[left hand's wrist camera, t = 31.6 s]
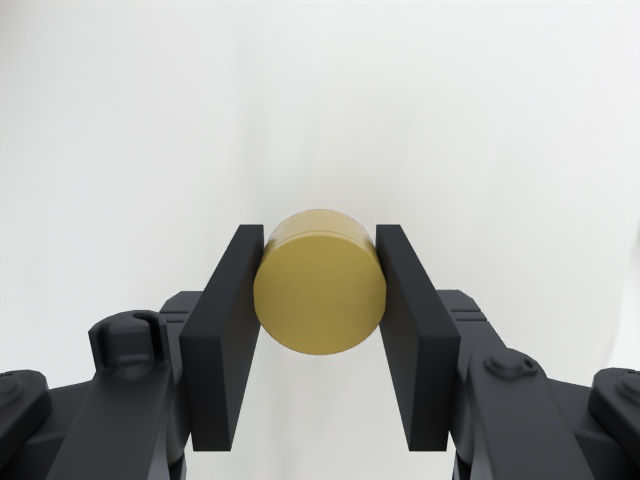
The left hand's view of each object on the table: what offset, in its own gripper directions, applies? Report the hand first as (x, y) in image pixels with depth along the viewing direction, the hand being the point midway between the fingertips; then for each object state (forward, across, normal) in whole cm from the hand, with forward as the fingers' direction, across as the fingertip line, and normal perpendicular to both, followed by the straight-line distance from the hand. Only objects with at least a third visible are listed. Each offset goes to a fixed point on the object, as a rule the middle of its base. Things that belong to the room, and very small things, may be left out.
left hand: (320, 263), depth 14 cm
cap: (-2, 0, 0) cm, 2 cm away
